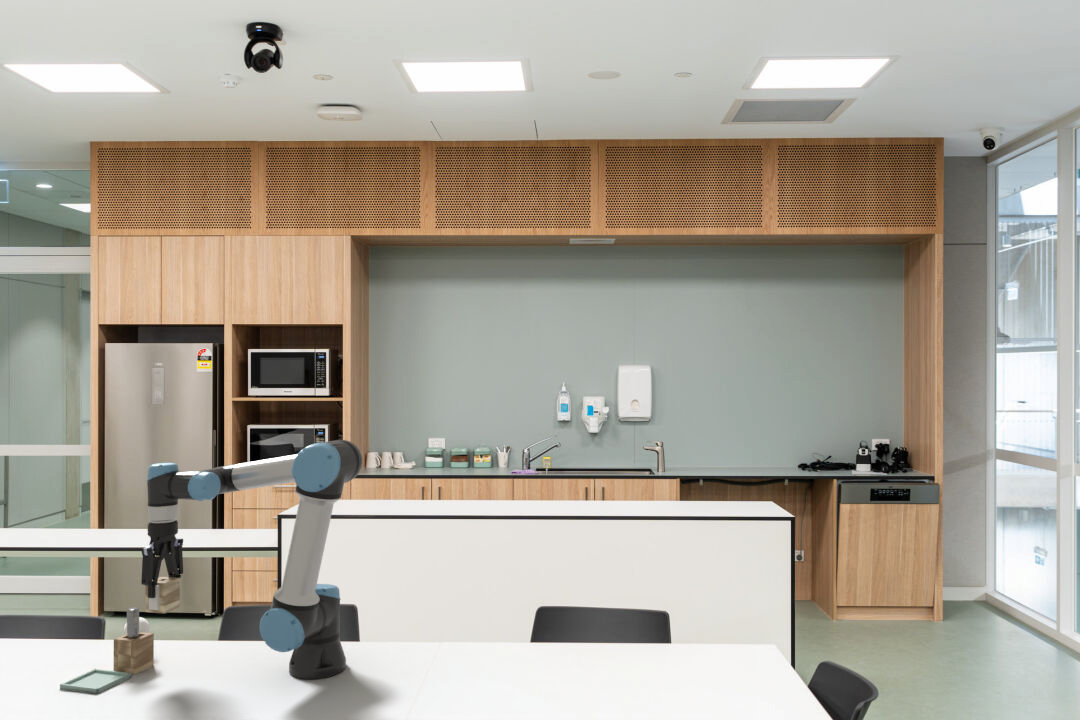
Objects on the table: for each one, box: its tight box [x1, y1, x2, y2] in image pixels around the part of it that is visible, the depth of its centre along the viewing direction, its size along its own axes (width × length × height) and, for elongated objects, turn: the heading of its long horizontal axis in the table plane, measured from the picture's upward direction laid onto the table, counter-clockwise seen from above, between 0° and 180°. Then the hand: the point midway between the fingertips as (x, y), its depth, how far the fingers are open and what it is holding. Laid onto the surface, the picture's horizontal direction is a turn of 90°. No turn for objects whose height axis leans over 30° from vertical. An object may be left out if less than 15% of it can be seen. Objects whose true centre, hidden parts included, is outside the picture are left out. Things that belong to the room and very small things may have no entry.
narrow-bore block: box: [144, 576, 181, 614], centre depth 224 cm, size 6×6×8 cm
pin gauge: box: [126, 606, 140, 639], centre depth 227 cm, size 3×3×15 cm
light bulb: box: [123, 616, 150, 635], centre depth 238 cm, size 7×7×11 cm
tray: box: [59, 668, 132, 695], centre depth 217 cm, size 12×12×1 cm
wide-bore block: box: [113, 632, 155, 675], centre depth 227 cm, size 7×7×9 cm
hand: (162, 605), depth 224 cm, fingers closed on narrow-bore block, 6 cm apart
